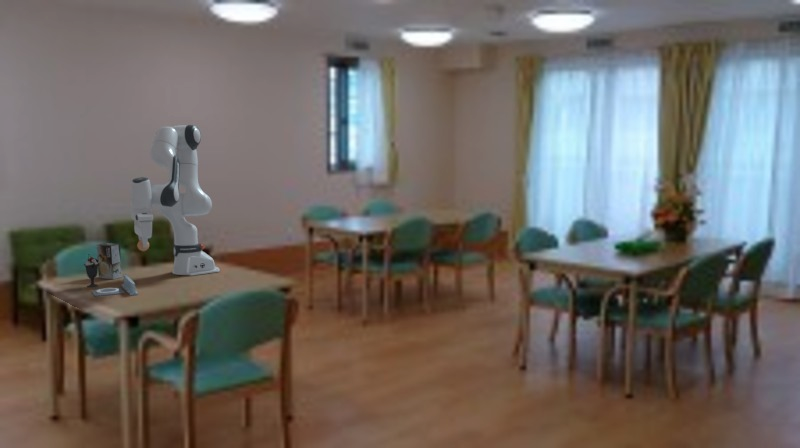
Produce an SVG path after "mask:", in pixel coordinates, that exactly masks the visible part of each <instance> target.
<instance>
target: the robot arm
mask: <svg viewBox="0 0 800 448" xmlns="http://www.w3.org/2000/svg"><path fill="white" fill-rule="evenodd" d="M201 139H202V134H201V131H200V129H199V127H197V126H196V125H193V124H188V125H186V124H185V125H175V126H162V127H160V128H159V129H158V130H157V131H156V133H155V136H154V138H153V140H152V143H151V146H150V151H149V156H150V158H151V160H152V162H154V163H155V164H156V165H157V166H159V167H161V168H164V169H167V170H168V178H167V182H166V183H160V184H159V183H157V184H156V183H151V181H150V179H149V177H144V176H143V177H135V178H133V179H132V180H131V183H130V191H129V192H130V196H129V197H130V201H131V205H130V206H131V207H130V214H131V215H130V218H131V220H133V222H134V226H133V228H134V233H135V234H136V235H137V236H138V242H139V241H140V240H142V242H143V243H142V246H143V247H147V241H148V242H149V240H148V239H151V238H152V237H153V221H154V215H153V206H154V207H155V206H157V210H158V211H159V212H160V213H159V214H161V215H162V216H164V217H165V218H166V219H167V220H168V221H169V223H170V224H171V227H172V230H173V237H174V239H173V240H174V245H173V256H174V262H173V269H172V274H173V275H178V276H179V275H180V276H189V277H190V276H192V277H193V276H198V275H205V274H206V275H207V274H213V273H219V272H221V271H220V268H219V267H218V266H216V264H215V261H214V258H213V257H211V256H210V255H209V254H207V253H206V252H205V251H203V250H204V249H205V248H206V246H205V245H204V244H201V243H199V238H198V228H197V226H196V225H195V224H193V223H191V222H189V221H187V220H186V217H199V216H204V215H208V214H210V212H211V210H212V206H213V202H212V199H211V198H210V196H209V195H208V194H206V192H205V191H203V190H202V188H201V186H200V183H199V174H198V168H199V167H198V166H199V160H198V152H197V148H198V146H199V145H200V143H201ZM179 187H182V188H183V189H185V192H184V193H180V188H179Z"/></svg>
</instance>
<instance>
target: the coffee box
mask: <svg viewBox="0 0 800 448" xmlns="http://www.w3.org/2000/svg"><path fill="white" fill-rule="evenodd" d="M96 253H97V255H96V256H97V260H98V263H99V265H98V270H97V274H98V278H99V279H106V280H107V279H109V280H116V279H119V278H120V279H121V278H122V277H123V275H122V274H123V273H122V256H121V244H120V243H110V242H109V243H108V242H104V243H99V244H96Z"/></svg>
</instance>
